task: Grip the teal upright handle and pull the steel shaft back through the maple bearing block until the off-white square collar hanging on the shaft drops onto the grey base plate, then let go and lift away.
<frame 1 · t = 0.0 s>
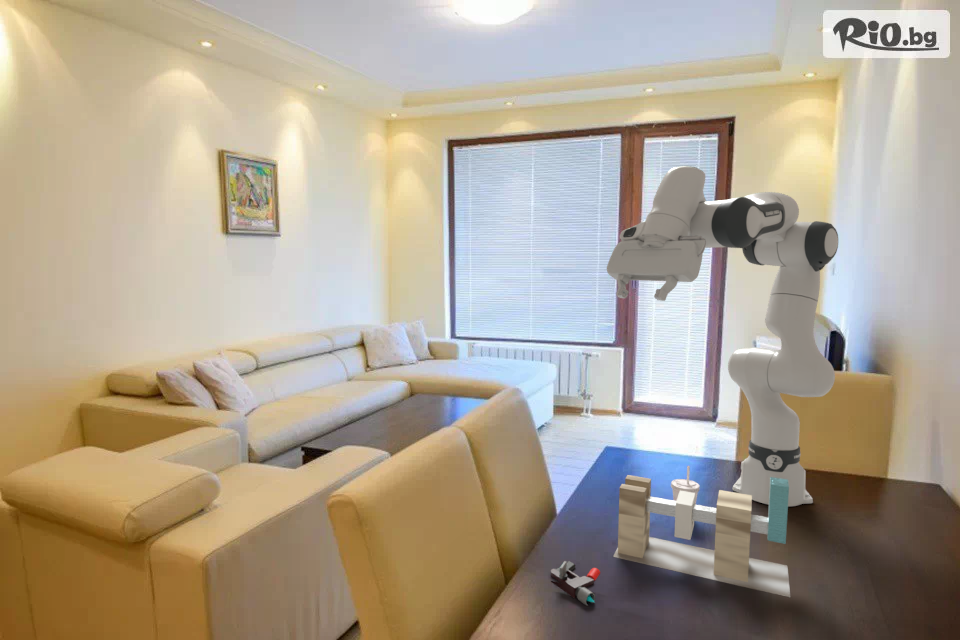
hand: (639, 298, 112), 54 cm above the table, tool tilted 30°, fingers open, 8 cm apart
shaft: (709, 498, 112), point 15 cm above the table, slide at 0.0 cm, touching collar
collar: (684, 530, 115), point 7 cm above the table, touching shaft
stand: (698, 566, 114), on the table
smoothie: (683, 524, 133), on the table
toy gun: (583, 588, 107), on the table
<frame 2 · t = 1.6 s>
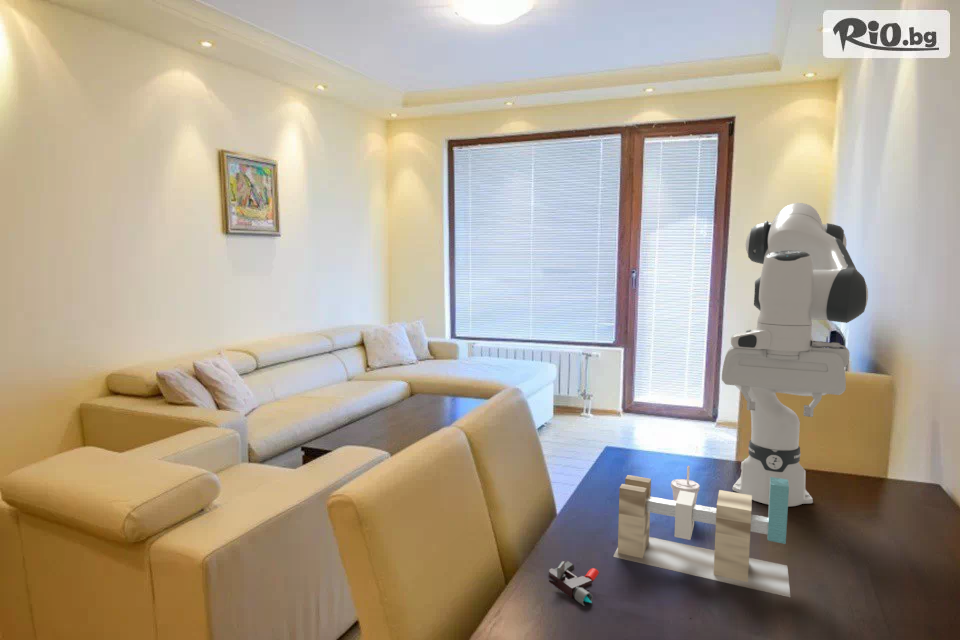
hand: (779, 412, 105), 33 cm above the table, tool pointing down, fingers open, 8 cm apart
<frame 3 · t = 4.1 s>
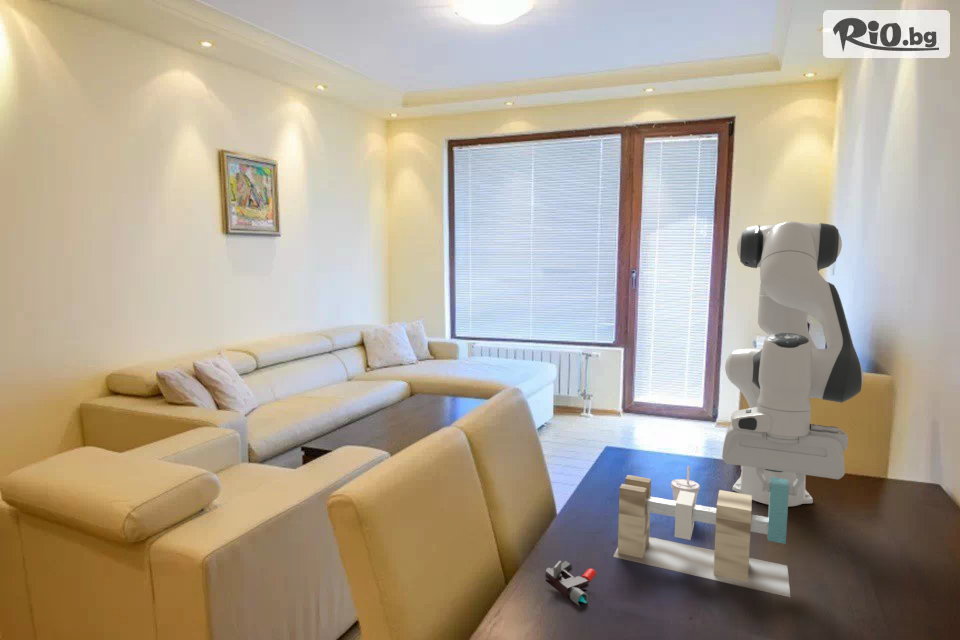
hand: (778, 492, 106), 18 cm above the table, tool pointing down, fingers closed on shaft, 3 cm apart
shaft: (709, 498, 112), point 15 cm above the table, slide at 0.0 cm, touching collar, gripper
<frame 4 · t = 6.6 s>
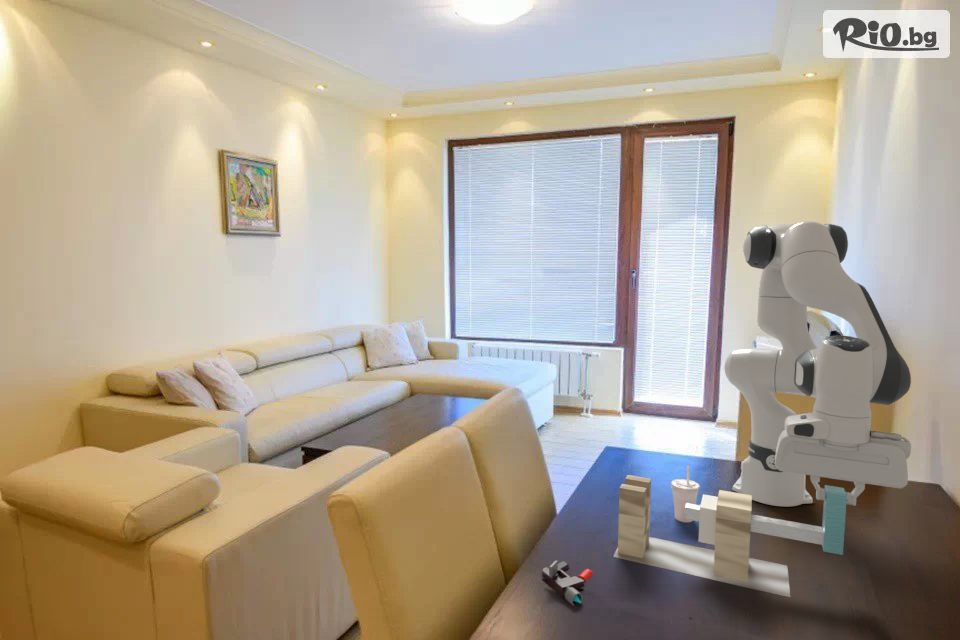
hand: (835, 501, 102), 18 cm above the table, tool pointing down, fingers closed on shaft, 3 cm apart
shaft: (760, 506, 108), point 15 cm above the table, slide at 9.0 cm, touching gripper
collar: (708, 535, 113), point 7 cm above the table
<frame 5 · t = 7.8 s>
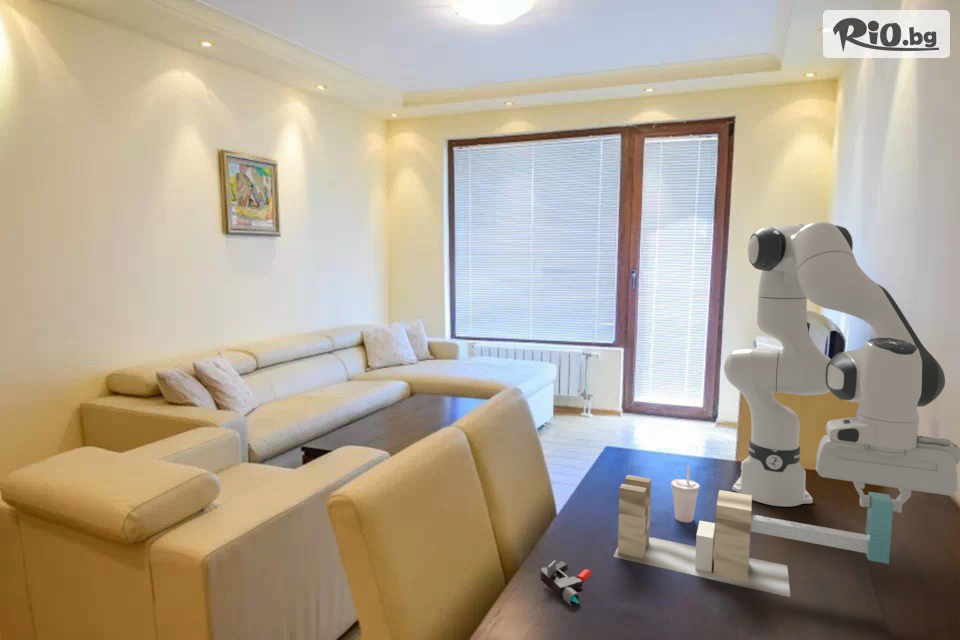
hand: (879, 508, 99), 18 cm above the table, tool pointing down, fingers closed on shaft, 3 cm apart
shaft: (800, 513, 105), point 15 cm above the table, slide at 15.8 cm, touching gripper
collar: (704, 562, 113), point 1 cm above the table, touching stand
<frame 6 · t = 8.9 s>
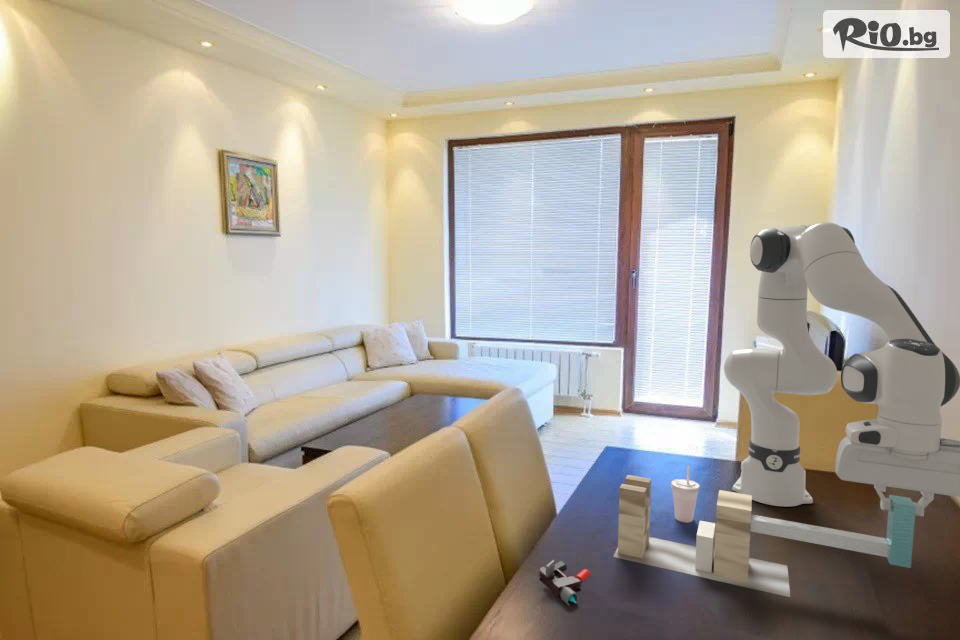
hand: (901, 512, 98), 18 cm above the table, tool pointing down, fingers closed on shaft, 3 cm apart
shaft: (820, 517, 104), point 15 cm above the table, slide at 18.9 cm, touching gripper
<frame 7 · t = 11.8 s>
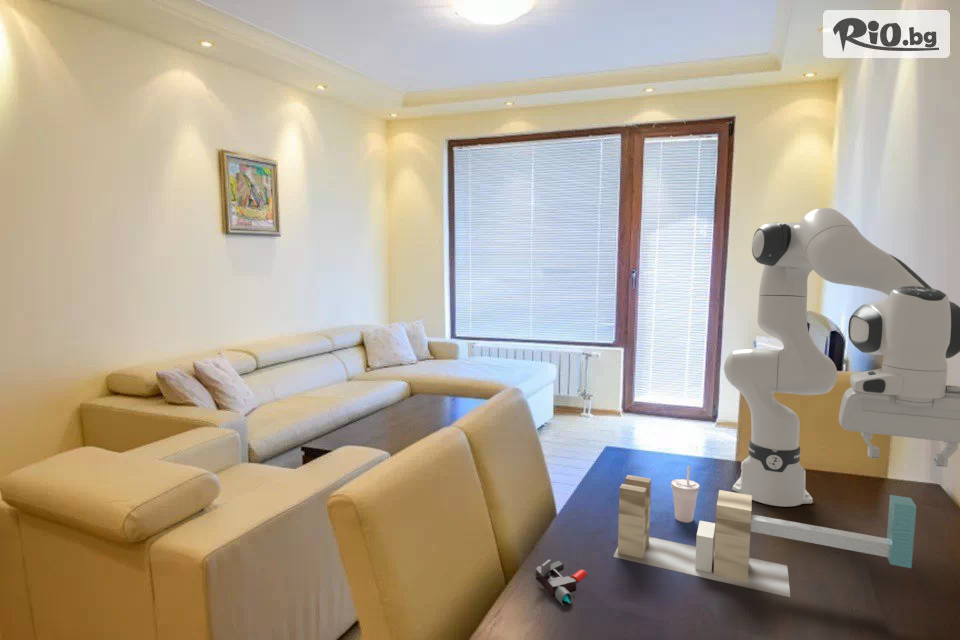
hand: (905, 461, 97), 27 cm above the table, tool pointing down, fingers open, 8 cm apart
shaft: (820, 517, 104), point 15 cm above the table, slide at 19.0 cm
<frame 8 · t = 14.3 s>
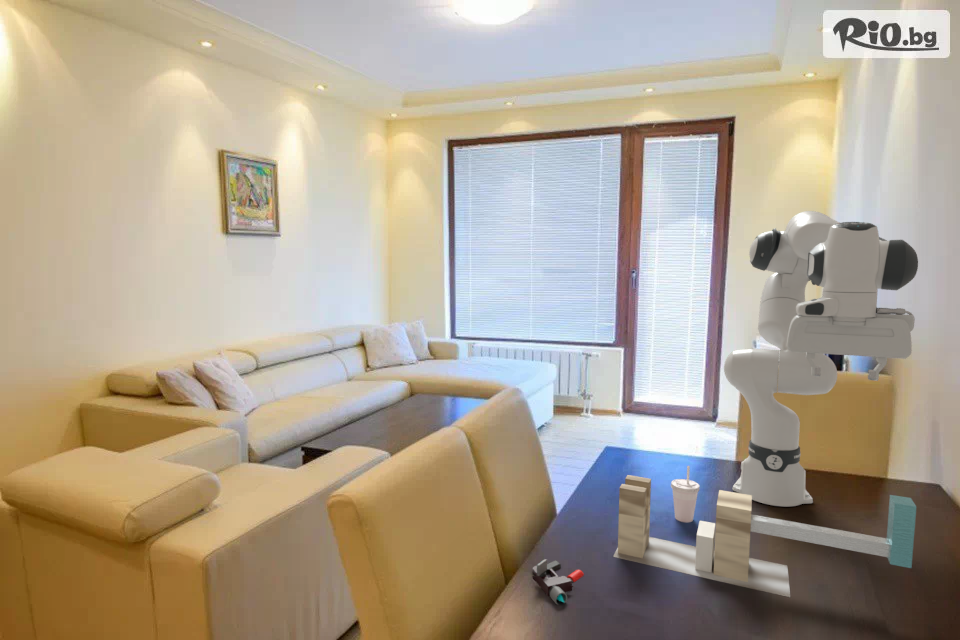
hand: (843, 377, 109), 39 cm above the table, tool pointing down, fingers open, 8 cm apart
at the end: shaft slide at 19.0 cm; collar point 1.2 cm above the table; collar touching stand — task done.
